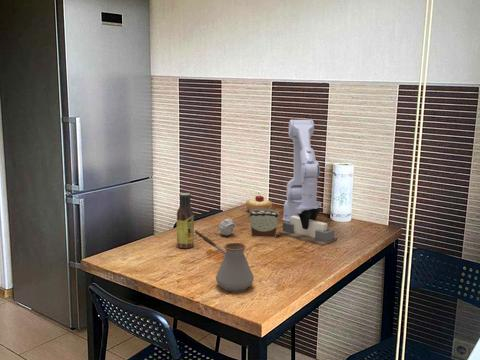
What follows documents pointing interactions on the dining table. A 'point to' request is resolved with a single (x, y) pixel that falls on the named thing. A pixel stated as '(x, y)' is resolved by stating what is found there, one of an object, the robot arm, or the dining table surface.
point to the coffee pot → (232, 267)
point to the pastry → (258, 203)
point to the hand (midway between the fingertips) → (308, 227)
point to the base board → (306, 238)
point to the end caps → (318, 234)
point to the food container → (264, 222)
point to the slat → (311, 227)
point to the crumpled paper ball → (226, 227)
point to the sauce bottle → (185, 222)
